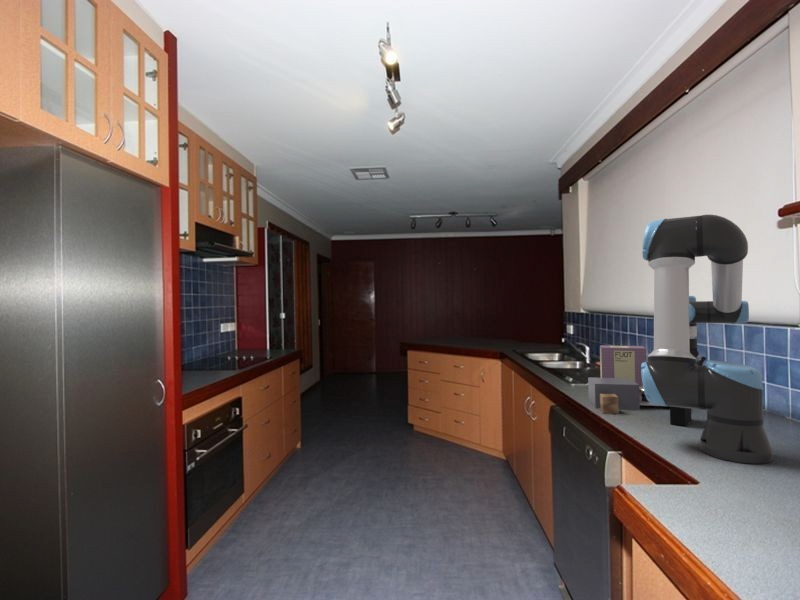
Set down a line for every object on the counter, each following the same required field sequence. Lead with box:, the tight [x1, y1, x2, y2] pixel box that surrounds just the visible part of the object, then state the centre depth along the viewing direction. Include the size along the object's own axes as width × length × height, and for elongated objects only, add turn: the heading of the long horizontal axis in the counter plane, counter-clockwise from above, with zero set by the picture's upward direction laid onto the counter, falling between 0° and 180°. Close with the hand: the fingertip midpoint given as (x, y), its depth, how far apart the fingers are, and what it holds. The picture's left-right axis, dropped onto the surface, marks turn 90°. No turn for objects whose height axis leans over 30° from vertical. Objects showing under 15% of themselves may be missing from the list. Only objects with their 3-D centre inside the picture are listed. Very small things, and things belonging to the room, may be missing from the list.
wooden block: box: [599, 394, 619, 415], centre depth 158 cm, size 5×5×6 cm
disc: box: [639, 386, 645, 394], centre depth 166 cm, size 8×8×2 cm
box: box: [599, 344, 648, 397], centre depth 188 cm, size 17×9×20 cm, turn 69°
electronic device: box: [669, 406, 692, 427], centre depth 143 cm, size 4×10×10 cm, turn 137°
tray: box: [640, 394, 665, 407], centre depth 166 cm, size 17×14×7 cm
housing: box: [587, 377, 641, 411], centre depth 169 cm, size 15×14×9 cm
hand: (686, 401), depth 163 cm, fingers closed
